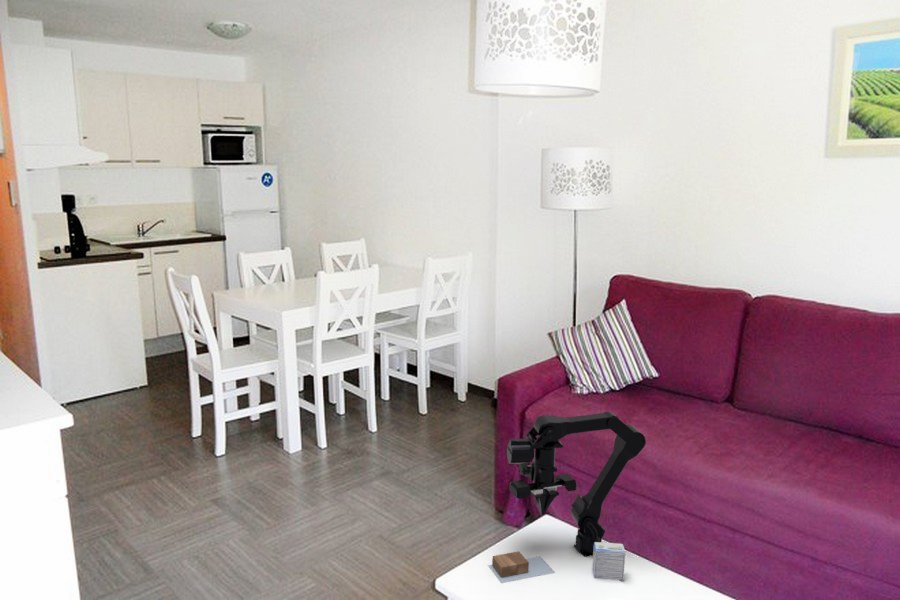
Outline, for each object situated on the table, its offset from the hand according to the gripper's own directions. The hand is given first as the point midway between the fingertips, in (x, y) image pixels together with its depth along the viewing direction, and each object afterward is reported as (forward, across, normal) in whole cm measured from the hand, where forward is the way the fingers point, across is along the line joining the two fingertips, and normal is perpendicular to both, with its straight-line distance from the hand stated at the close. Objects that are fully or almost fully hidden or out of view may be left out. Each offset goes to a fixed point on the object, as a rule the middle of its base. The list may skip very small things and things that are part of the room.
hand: (542, 514), depth 196 cm
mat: (+12, +9, +6) cm, 16 cm away
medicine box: (+12, -12, +16) cm, 23 cm away
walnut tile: (+10, +8, +6) cm, 14 cm away
